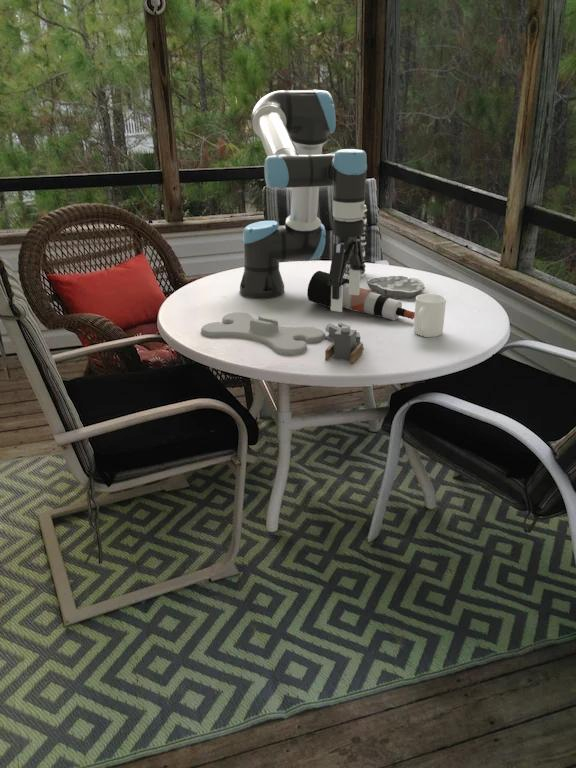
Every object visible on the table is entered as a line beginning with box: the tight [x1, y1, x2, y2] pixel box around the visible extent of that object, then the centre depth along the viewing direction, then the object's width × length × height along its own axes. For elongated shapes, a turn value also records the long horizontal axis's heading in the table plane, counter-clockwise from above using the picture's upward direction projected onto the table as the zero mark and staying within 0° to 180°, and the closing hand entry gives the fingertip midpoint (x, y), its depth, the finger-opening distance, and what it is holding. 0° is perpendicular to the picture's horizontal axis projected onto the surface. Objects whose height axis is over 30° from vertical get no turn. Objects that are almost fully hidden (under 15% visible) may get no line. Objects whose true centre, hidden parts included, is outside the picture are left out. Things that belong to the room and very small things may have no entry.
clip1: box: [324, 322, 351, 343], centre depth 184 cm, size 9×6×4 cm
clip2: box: [356, 331, 364, 351], centre depth 178 cm, size 5×6×4 cm
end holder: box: [324, 342, 364, 365], centre depth 172 cm, size 8×8×3 cm
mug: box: [413, 293, 447, 338], centre depth 185 cm, size 12×8×10 cm
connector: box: [333, 325, 357, 362], centre depth 171 cm, size 4×4×8 cm
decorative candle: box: [343, 208, 369, 278], centre depth 237 cm, size 9×9×25 cm
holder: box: [200, 312, 326, 356], centre depth 187 cm, size 19×34×5 cm, turn 58°
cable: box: [306, 270, 415, 321], centre depth 202 cm, size 10×34×10 cm, turn 57°
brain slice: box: [366, 275, 426, 300], centre depth 224 cm, size 20×17×3 cm
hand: (345, 302), depth 167 cm, fingers open, 13 cm apart
